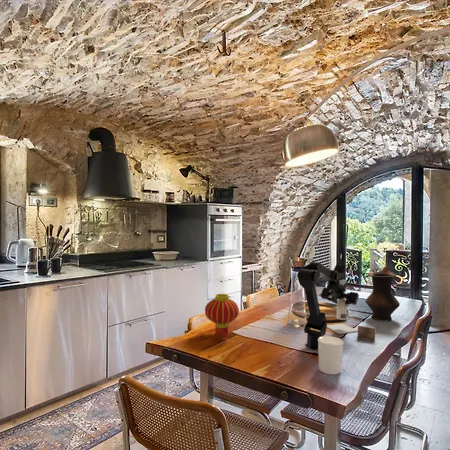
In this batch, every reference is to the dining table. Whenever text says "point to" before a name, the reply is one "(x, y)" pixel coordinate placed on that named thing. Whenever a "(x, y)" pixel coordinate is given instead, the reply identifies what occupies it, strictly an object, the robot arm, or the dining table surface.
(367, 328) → the brown wooden box
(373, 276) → the jug
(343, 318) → the bottle
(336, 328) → the board
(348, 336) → the dining table surface
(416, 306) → the dining table surface
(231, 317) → the lantern
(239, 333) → the dining table surface
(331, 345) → the white cylinder
